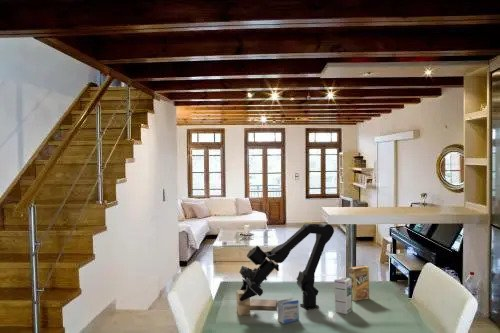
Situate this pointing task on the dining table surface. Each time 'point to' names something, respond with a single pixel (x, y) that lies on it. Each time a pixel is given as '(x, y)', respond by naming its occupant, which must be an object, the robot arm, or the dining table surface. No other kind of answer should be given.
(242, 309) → the oak pillar
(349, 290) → the syrup box
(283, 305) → the medicine box
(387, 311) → the dining table surface
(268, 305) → the walnut slab
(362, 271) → the candy box
